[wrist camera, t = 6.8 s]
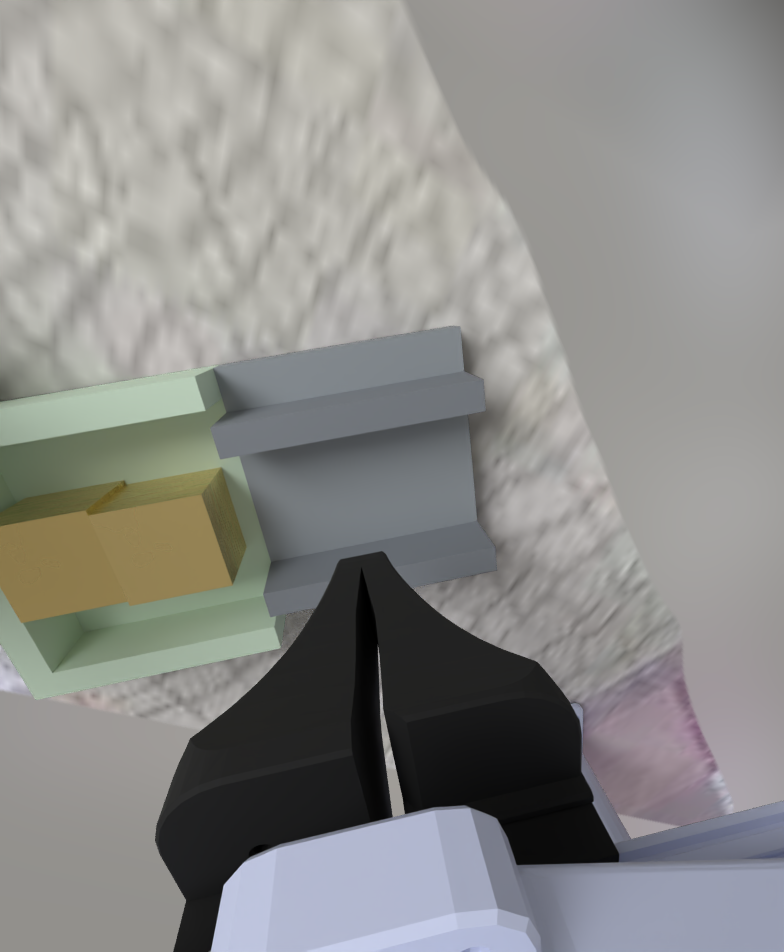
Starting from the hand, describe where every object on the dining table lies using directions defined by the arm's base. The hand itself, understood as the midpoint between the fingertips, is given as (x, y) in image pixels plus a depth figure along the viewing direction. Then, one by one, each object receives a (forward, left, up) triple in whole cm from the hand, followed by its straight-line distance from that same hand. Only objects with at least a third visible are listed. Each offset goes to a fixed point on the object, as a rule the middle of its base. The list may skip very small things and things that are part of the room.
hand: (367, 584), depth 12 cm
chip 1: (0, +11, -8) cm, 14 cm away
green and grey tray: (0, +5, -9) cm, 10 cm away
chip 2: (0, +7, -8) cm, 11 cm away
